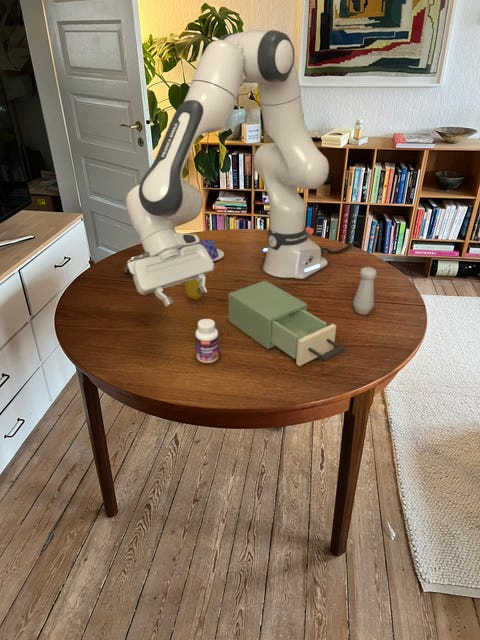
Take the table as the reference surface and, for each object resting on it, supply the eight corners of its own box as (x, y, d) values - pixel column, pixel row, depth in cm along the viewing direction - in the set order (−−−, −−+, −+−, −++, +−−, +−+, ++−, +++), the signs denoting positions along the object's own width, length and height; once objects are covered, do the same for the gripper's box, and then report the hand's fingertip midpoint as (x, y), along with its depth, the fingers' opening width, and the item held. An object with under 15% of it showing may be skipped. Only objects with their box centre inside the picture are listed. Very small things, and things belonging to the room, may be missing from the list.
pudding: (189, 264, 158) (188, 249, 155) (190, 250, 168) (189, 236, 165) (225, 262, 159) (224, 248, 156) (223, 249, 169) (222, 235, 166)
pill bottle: (200, 365, 109) (199, 331, 104) (193, 353, 114) (191, 319, 109) (222, 360, 111) (221, 326, 106) (214, 348, 115) (213, 315, 110)
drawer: (350, 359, 110) (353, 335, 106) (315, 377, 104) (318, 353, 101) (290, 322, 124) (292, 300, 121) (257, 336, 118) (258, 313, 115)
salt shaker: (350, 313, 130) (356, 271, 123) (353, 304, 134) (359, 263, 127) (371, 317, 128) (378, 275, 121) (373, 307, 132) (381, 266, 126)
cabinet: (304, 332, 122) (307, 303, 117) (267, 349, 115) (268, 319, 111) (264, 307, 133) (265, 280, 128) (228, 321, 126) (228, 293, 122)
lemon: (202, 305, 134) (200, 280, 130) (183, 303, 135) (181, 278, 131) (207, 296, 139) (206, 271, 134) (189, 294, 140) (187, 270, 135)
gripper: (127, 253, 105) (151, 308, 103) (203, 233, 115) (226, 283, 114) (121, 264, 110) (144, 317, 108) (194, 244, 121) (216, 292, 119)
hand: (187, 299), depth 111 cm, fingers open, 8 cm apart
